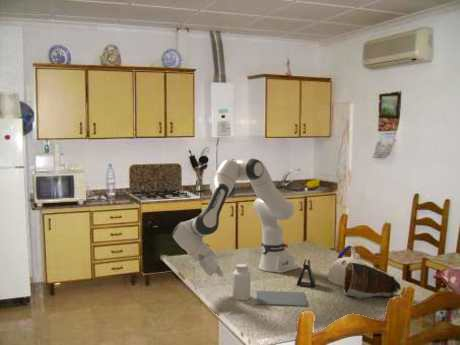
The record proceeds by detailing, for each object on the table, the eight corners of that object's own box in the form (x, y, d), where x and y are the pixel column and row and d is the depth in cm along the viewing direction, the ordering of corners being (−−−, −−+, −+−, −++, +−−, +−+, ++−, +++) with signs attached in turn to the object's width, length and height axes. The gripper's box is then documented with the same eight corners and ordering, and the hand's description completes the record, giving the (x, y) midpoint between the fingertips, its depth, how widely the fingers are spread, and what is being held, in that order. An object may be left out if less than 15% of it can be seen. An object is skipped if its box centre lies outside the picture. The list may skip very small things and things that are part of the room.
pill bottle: (231, 294, 212) (232, 262, 211) (249, 294, 213) (249, 262, 211) (233, 301, 204) (234, 267, 203) (251, 300, 205) (252, 267, 204)
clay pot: (409, 276, 207) (354, 264, 207) (402, 310, 206) (347, 297, 206) (397, 270, 221) (346, 259, 222) (391, 301, 221) (340, 290, 221)
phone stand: (315, 283, 230) (316, 260, 229) (314, 287, 224) (315, 263, 223) (297, 281, 232) (298, 258, 231) (296, 285, 226) (297, 261, 225)
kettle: (375, 280, 237) (377, 246, 236) (356, 290, 222) (357, 253, 220) (340, 271, 251) (341, 239, 249) (319, 280, 236) (321, 245, 234)
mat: (257, 304, 200) (257, 303, 200) (256, 291, 216) (256, 290, 216) (307, 306, 199) (308, 305, 199) (303, 293, 215) (303, 292, 215)
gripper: (203, 254, 197) (225, 277, 197) (207, 242, 217) (227, 263, 218) (192, 264, 198) (215, 287, 198) (198, 251, 218) (218, 272, 218)
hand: (221, 274), depth 208 cm, fingers closed
